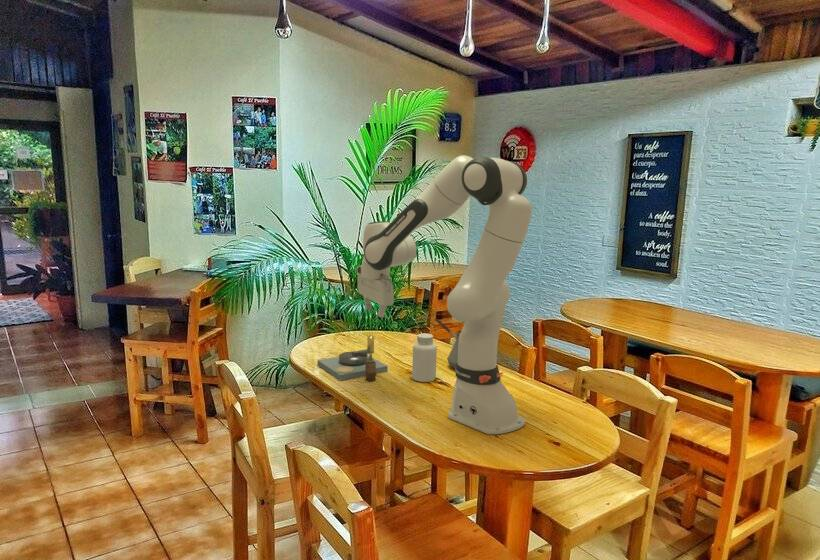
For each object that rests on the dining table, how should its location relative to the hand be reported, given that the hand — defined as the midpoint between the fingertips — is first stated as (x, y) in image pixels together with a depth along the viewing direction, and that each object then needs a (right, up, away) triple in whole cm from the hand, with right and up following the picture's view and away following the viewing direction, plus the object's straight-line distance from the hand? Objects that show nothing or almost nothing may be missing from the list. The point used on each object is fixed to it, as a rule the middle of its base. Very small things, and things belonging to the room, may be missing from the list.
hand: (374, 313), depth 185 cm
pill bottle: (+16, -22, +6) cm, 28 cm away
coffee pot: (+27, -20, +21) cm, 40 cm away
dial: (-7, -18, +16) cm, 25 cm away
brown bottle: (-2, -22, +3) cm, 23 cm away
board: (-9, -20, +14) cm, 26 cm away
